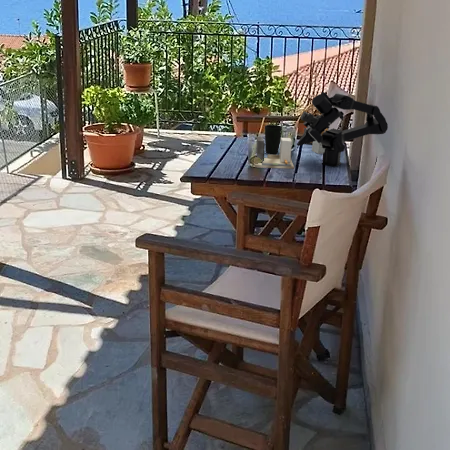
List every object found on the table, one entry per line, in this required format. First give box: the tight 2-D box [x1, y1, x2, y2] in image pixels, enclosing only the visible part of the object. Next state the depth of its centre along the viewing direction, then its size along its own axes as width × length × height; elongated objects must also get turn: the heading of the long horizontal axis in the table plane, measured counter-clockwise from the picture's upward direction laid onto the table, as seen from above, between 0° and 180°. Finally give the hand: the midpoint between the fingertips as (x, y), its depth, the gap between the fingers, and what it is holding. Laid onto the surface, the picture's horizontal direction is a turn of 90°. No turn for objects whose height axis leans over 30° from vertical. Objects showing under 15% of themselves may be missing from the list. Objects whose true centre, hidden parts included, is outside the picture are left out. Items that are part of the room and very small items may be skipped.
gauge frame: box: [253, 136, 295, 170], centre depth 266 cm, size 16×12×10 cm
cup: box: [264, 124, 283, 155], centre depth 284 cm, size 8×8×12 cm
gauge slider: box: [278, 137, 293, 164], centre depth 266 cm, size 4×10×9 cm, turn 1°
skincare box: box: [311, 141, 325, 155], centre depth 291 cm, size 6×6×7 cm
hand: (297, 145), depth 267 cm, fingers closed
